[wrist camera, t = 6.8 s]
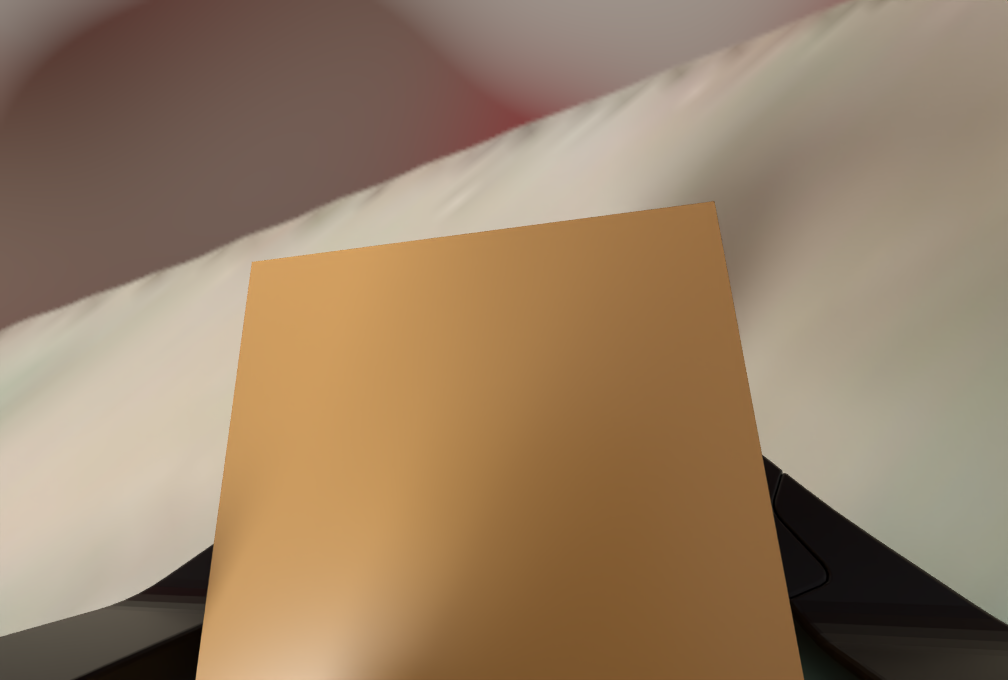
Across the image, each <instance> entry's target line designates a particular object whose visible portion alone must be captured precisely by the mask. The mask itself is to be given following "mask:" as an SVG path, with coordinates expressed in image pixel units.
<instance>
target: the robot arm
mask: <svg viewBox="0 0 1008 680" xmlns="http://www.w3.org/2000/svg"><path fill="white" fill-rule="evenodd" d="M762 458H763V463H764V468H765V474H766V479H767V484H768V490H769V495H770V500H771V506H772V511H773V516H774V522H775V527H776V532H777V538H778V543H779V548H780V554H781V559H782V564H783V570H784V575H785V580H786V586H787V591H788V596H789V602H790V607H791V612H792V618H793V623H794V628H795V634H796V639H797V644H798V650H799V655H800V660H801V666H802V671H803V676H804V680H1008V625H1007V624H1006V623H1004V622H1002V621H1000V620H999V619H997V618H995V617H994V616H992V615H991V614H989V613H987V612H986V611H984V610H983V609H981V608H980V607H978V606H976V605H975V604H973V603H972V602H970V601H969V600H967V599H966V598H964V597H963V596H961V595H960V594H958V593H957V592H955V591H954V590H952V589H951V588H949V587H948V586H946V585H945V584H943V583H942V582H940V581H939V580H937V579H936V578H934V577H933V576H931V575H930V574H928V573H927V572H925V571H924V570H922V569H921V568H919V567H918V566H916V565H915V564H913V563H912V562H910V561H909V560H907V559H906V558H904V557H903V556H901V555H900V554H898V553H897V552H895V551H894V550H892V549H891V548H889V547H888V546H886V545H885V544H883V543H882V542H880V541H879V540H877V539H876V538H874V537H873V536H871V535H870V534H868V533H867V532H866V531H864V530H863V529H861V528H860V527H858V526H857V525H855V524H854V523H853V522H851V521H850V520H848V519H847V518H845V517H844V516H842V515H841V514H839V513H838V512H837V511H835V510H834V509H832V508H831V507H830V506H828V505H827V504H826V503H824V502H823V501H822V500H820V499H819V498H818V497H816V496H815V495H814V494H812V493H811V492H810V491H808V490H807V489H806V488H804V487H803V486H802V485H801V484H799V483H798V482H797V481H795V480H794V479H793V478H792V477H790V476H789V475H788V474H786V473H783V474H782V470H781V469H780V468H778V467H777V466H776V465H775V464H773V463H772V462H771V461H770V460H768V459H767V458H766V457H764V456H763V455H762ZM213 547H214V544H213V545H211V546H210V547H209V548H207V549H206V550H204V551H203V552H201V553H200V554H198V555H197V556H196V557H194V558H193V559H191V560H190V561H188V562H187V563H185V564H184V565H183V566H181V567H180V568H178V569H177V570H175V571H174V572H172V573H171V574H170V575H168V576H167V577H165V578H164V579H162V580H161V581H159V582H158V583H156V584H155V585H153V586H151V587H150V588H148V589H146V590H144V591H142V592H140V593H139V594H137V595H134V596H132V597H130V598H128V599H126V600H124V601H121V602H118V603H116V604H113V605H111V606H108V607H105V608H101V609H98V610H95V611H91V612H87V613H84V614H80V615H77V616H73V617H70V618H66V619H63V620H59V621H55V622H52V623H48V624H45V625H41V626H38V627H34V628H30V629H27V630H23V631H20V632H16V633H13V634H9V635H6V636H2V637H0V680H196V672H197V665H198V658H199V650H200V643H201V635H202V628H203V621H204V613H205V606H206V598H207V591H208V584H209V576H210V569H211V561H212V554H213Z"/></svg>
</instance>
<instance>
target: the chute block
mask: <svg viewBox="0 0 1008 680" xmlns="http://www.w3.org/2000/svg"><path fill="white" fill-rule="evenodd" d="M196 680H804V676H803V671H802V666H801V660H800V655H799V650H798V644H797V639H796V634H795V628H794V623H793V618H792V612H791V607H790V602H789V596H788V591H787V586H786V580H785V575H784V570H783V564H782V559H781V554H780V548H779V543H778V538H777V532H776V527H775V522H774V516H773V511H772V506H771V500H770V495H769V490H768V484H767V479H766V474H765V468H764V463H763V458H762V452H761V447H760V442H759V436H758V431H757V426H756V420H755V415H754V410H753V404H752V399H751V394H750V388H749V383H748V378H747V372H746V367H745V362H744V356H743V351H742V346H741V340H740V335H739V330H738V324H737V319H736V314H735V308H734V303H733V298H732V292H731V287H730V282H729V276H728V271H727V266H726V260H725V255H724V250H723V244H722V239H721V234H720V228H719V223H718V218H717V213H716V207H715V202H714V201H712V202H705V203H697V204H689V205H682V206H674V207H667V208H659V209H651V210H644V211H636V212H629V213H621V214H613V215H606V216H598V217H591V218H583V219H575V220H568V221H560V222H553V223H545V224H537V225H530V226H522V227H515V228H507V229H499V230H492V231H484V232H477V233H469V234H461V235H454V236H446V237H439V238H431V239H423V240H416V241H408V242H401V243H393V244H385V245H378V246H370V247H363V248H355V249H347V250H340V251H332V252H325V253H317V254H309V255H302V256H294V257H287V258H279V259H271V260H264V261H256V262H252V265H251V273H250V280H249V287H248V295H247V302H246V310H245V317H244V325H243V332H242V339H241V347H240V354H239V362H238V369H237V376H236V384H235V391H234V399H233V406H232V413H231V421H230V428H229V436H228V443H227V450H226V458H225V465H224V473H223V480H222V487H221V495H220V502H219V510H218V517H217V524H216V532H215V539H214V547H213V554H212V561H211V569H210V576H209V584H208V591H207V598H206V606H205V613H204V621H203V628H202V635H201V643H200V650H199V658H198V665H197V672H196Z"/></svg>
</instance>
